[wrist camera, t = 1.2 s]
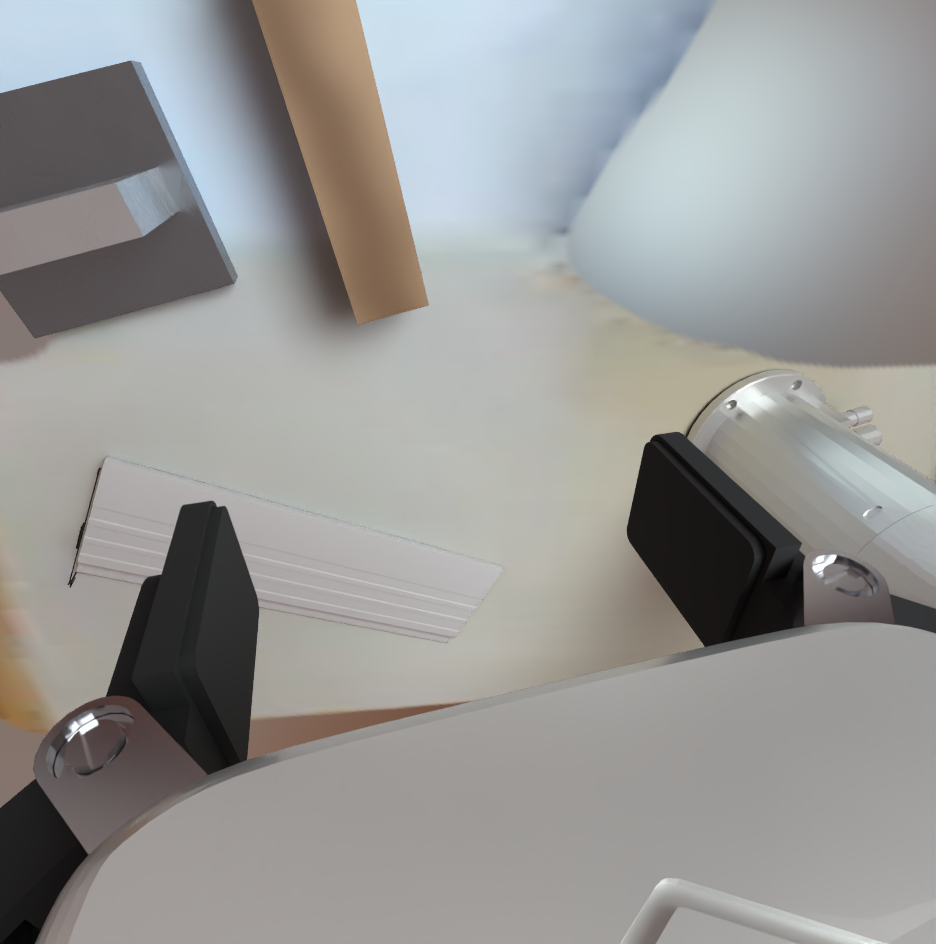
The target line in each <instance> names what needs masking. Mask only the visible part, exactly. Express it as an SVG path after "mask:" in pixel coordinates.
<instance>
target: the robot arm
mask: <svg viewBox="0 0 936 944" xmlns="http://www.w3.org/2000/svg"><path fill="white" fill-rule="evenodd" d="M872 418H873V413H872V411H871V409H870V408H869V407H867V406H862V407H859V408H855V409H852V410H849V411H847V412H845V413H840V412H838V411H836V410H835V409H833V408H831V407H830V406H828V405H827V401H826V397H825V395H824V393H823V391H822V389H821V388H820V387H819V386H818V385H817V384H816V383H815V382H814V381H813V380H811V379H809V378H808V377H806V376H804V375H803V374H800V373H797V372H794V371H790V370H772V371H765V372H762V373H759V374H755V375H752V376H750V377H748V378H746V379H744V380H741V381H739V382H737V383H736V384H734V385H733V386H731V387H730V388H728V389H727V390H725V391H724V392H723V393H721V394H720V395H719V396H718V397H717V398H716V399H714V400H713V401H712V402H711V403H710V404H709V405H708V407H707V408H706V409H705V410H704V411H703V412H702V413H701V415H700V416H699V417H698V419H697V420H696V422H695V423H694V425H693V426H692V428H691V430H690V433H689V435H688V437H687V438H686V437H685V436H684V435H683V434H681V433H680V432H672V433H666V434H659V435H655V436H653V437H652V438H651V440H650V442H648V443H646V445H645V447H644V451H643V456H642V460H641V465H640V470H639V474H638V479H637V484H636V488H635V493H634V498H633V502H632V507H631V512H630V516H629V521H628V526H627V536H628V539H629V541H630V543H631V545H632V546H633V547H634V549H635V550H636V552H637V553H638V554H639V556H640V557H641V559H642V560H643V561H644V563H645V564H646V566H647V567H648V568H649V570H650V571H651V572H652V574H653V575H654V577H655V578H656V579H657V581H658V582H659V584H660V585H661V586H662V588H663V589H664V590H665V592H666V593H667V595H668V596H669V597H670V599H671V600H672V602H673V603H674V604H675V606H676V607H677V608H678V610H679V611H680V613H681V614H682V615H683V617H684V618H685V620H686V621H687V622H688V624H689V625H690V627H691V628H692V629H693V631H694V632H695V633H696V635H697V636H698V638H699V639H700V640H701V642H702V643H703V645H704V646H705V647H703V648H699V649H695V650H690V651H686V652H682V653H677V654H673V655H669V656H664V657H660V658H656V659H651V660H647V661H643V662H638V663H634V664H629V665H625V666H621V667H617V668H612V669H608V670H604V671H600V672H595V673H591V674H587V675H583V676H578V677H574V678H570V679H566V680H561V681H557V682H553V683H549V684H544V685H540V686H536V687H532V688H527V689H523V690H519V691H515V692H511V693H506V694H502V695H498V696H494V697H489V698H485V699H481V700H477V701H473V702H469V703H465V704H460V705H456V706H452V707H448V708H444V709H440V710H436V711H432V712H427V713H423V714H419V715H415V716H411V717H407V718H402V719H398V720H394V721H390V722H386V723H382V724H378V725H373V726H370V727H366V728H362V729H358V730H354V731H350V732H346V733H342V734H339V735H335V736H331V737H327V738H323V739H319V740H315V741H311V742H307V743H304V744H300V745H296V746H292V747H288V748H285V749H282V750H279V751H275V752H272V753H269V754H265V755H262V756H259V757H255V758H252V759H249V760H247V753H248V741H249V729H250V717H251V705H252V692H253V680H254V668H255V656H256V644H257V632H258V619H259V604H258V598H257V594H256V591H255V588H254V585H253V583H252V580H251V577H250V574H249V571H248V568H247V565H246V562H245V559H244V556H243V553H242V550H241V547H240V544H239V542H238V539H237V536H236V533H235V530H234V527H233V524H232V521H231V518H230V515H229V512H228V510H227V508H226V506H220V507H217V505H216V503H215V502H214V501H205V502H199V503H192V504H185V505H183V506H182V507H181V509H180V512H179V515H178V519H177V522H176V526H175V529H174V533H173V536H172V540H171V543H170V546H169V550H168V553H167V557H166V560H165V564H164V567H163V571H162V574H161V575H155V576H149V577H147V578H146V579H145V580H144V582H143V584H142V586H141V590H140V593H139V596H138V599H137V602H136V605H135V608H134V611H133V614H132V617H131V621H130V624H129V627H128V630H127V633H126V636H125V639H124V642H123V645H122V649H121V652H120V655H119V658H118V661H117V664H116V667H115V670H114V673H113V676H112V680H111V683H110V686H109V689H108V692H107V695H106V697H102V698H99V699H96V700H94V701H91V702H88V703H86V704H84V705H82V706H80V707H79V708H77V709H75V710H74V711H72V712H70V713H69V714H67V715H66V716H65V717H64V718H63V719H62V720H60V721H59V722H58V723H57V724H56V725H55V726H54V727H53V728H52V729H51V730H50V732H49V733H48V734H47V735H46V737H45V738H44V739H43V740H42V742H41V744H40V746H39V749H38V751H37V753H36V755H35V760H34V767H33V771H34V774H35V777H36V779H35V780H33V781H32V782H31V783H30V784H29V785H27V786H26V787H25V788H24V789H23V790H22V791H20V792H19V793H18V794H17V795H15V796H14V797H13V798H12V799H11V800H10V801H8V802H7V803H6V804H5V805H3V806H2V807H1V808H0V944H936V482H934V481H933V480H931V479H929V478H928V477H926V476H925V475H923V474H921V473H920V472H918V471H917V470H915V469H913V468H912V467H910V466H909V465H907V464H905V463H904V462H902V461H901V460H899V459H897V458H896V457H894V456H893V455H891V454H889V453H888V452H886V451H885V450H883V449H881V448H880V447H878V445H880V443H881V441H882V435H881V433H880V431H879V429H878V428H877V427H876V426H874V425H871V424H870V425H866V426H863V427H859V428H856V429H853V430H851V429H850V427H851V426H853V427H854V426H857V425H860V424H863V423H867V422H870V421H871V420H872Z"/></svg>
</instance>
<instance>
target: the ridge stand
mask: <svg viewBox="0 0 936 944" xmlns="http://www.w3.org/2000/svg"><path fill="white" fill-rule="evenodd" d="M237 277H238V276H237V274H236V272H235V269H234V267H233V265H232V263H231V261H230V258H229V256H228V254H227V252H226V250H225V247H224V245H223V243H222V241H221V239H220V237H219V234H218V232H217V230H216V228H215V226H214V223H213V221H212V219H211V217H210V215H209V212H208V210H207V208H206V206H205V204H204V201H203V199H202V197H201V195H200V193H199V190H198V188H197V186H196V184H195V182H194V179H193V177H192V175H191V173H190V171H189V168H188V166H187V164H186V162H185V160H184V157H183V155H182V153H181V151H180V149H179V146H178V144H177V142H176V140H175V138H174V135H173V133H172V131H171V129H170V127H169V124H168V122H167V120H166V118H165V116H164V113H163V111H162V109H161V107H160V105H159V102H158V100H157V98H156V96H155V94H154V91H153V89H152V87H151V85H150V83H149V81H148V78H147V76H146V74H145V72H144V70H143V67H142V65H141V63H140V62H135V61H127V62H123V63H119V64H115V65H111V66H107V67H103V68H99V69H95V70H91V71H87V72H83V73H79V74H75V75H71V76H68V77H64V78H60V79H56V80H52V81H48V82H44V83H40V84H36V85H32V86H28V87H24V88H20V89H16V90H12V91H8V92H4V93H0V291H1V292H2V294H3V295H4V296H5V298H6V299H7V301H8V302H9V303H10V305H11V306H12V308H13V309H14V310H15V312H16V313H17V314H18V316H19V317H20V319H21V320H22V321H23V322H24V324H25V325H26V327H27V328H28V330H29V331H30V332H31V334H32V335H33V337H34V338H38V337H42V336H45V335H49V334H53V333H56V332H60V331H64V330H67V329H71V328H74V327H78V326H82V325H85V324H89V323H93V322H96V321H100V320H104V319H107V318H111V317H114V316H118V315H122V314H125V313H129V312H133V311H136V310H140V309H143V308H147V307H151V306H154V305H158V304H162V303H165V302H169V301H172V300H176V299H180V298H183V297H187V296H191V295H194V294H198V293H201V292H205V291H209V290H212V289H216V288H220V287H223V286H227V285H230V284H234V283H235V281H236V279H237Z"/></svg>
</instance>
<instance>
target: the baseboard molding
mask: <svg viewBox="0 0 936 944" xmlns="http://www.w3.org/2000/svg"><path fill="white" fill-rule="evenodd" d="M100 470H101V468H99V470H98V472H97V474H98V475H99V471H100ZM98 475H97V478H98ZM97 478H96V482H97ZM96 482H95V486H96ZM95 486H94V490H95ZM94 490H93V493H94ZM93 493H92V497H93ZM92 497H91V501H92ZM91 501H90V505H91ZM205 501H214V502H215V503H216V505H217V507H220V506H226V508H227V510H228V512H229V515H230V518H231V521H232V524H233V527H234V530H235V533H236V536H237V539H238V542H239V544H240V547H241V550H242V553H243V556H244V559H245V562H246V565H247V568H248V571H249V574H250V577H251V580H252V583H253V585H254V588H255V591H256V594H257V598H258V604H259V607H263V608H268V609H273V610H278V611H283V612H289V613H294V614H299V615H304V616H309V617H315V618H320V619H325V620H330V621H335V622H340V623H346V624H351V625H356V626H361V627H366V628H372V629H377V630H382V631H387V632H392V633H398V634H403V635H408V636H413V637H418V638H424V639H429V640H434V641H439V642H444V643H447V642H448V641H449V639H450V638H451V637H456V636H457V634H458V633H459V631H460V629H461V628H462V626H463V625H464V624H465V623H466V622H467V619H468V618H469V617H470V615H471V614H472V612H474V611H475V609H476V607H477V605H478V604H479V603H480V601H481V600H483V598H484V597H485V595H486V594H487V593H488V591H489V590H490V588H491V587H492V586H493V584H494V583H495V581H496V580H497V579H498V577H499V576H500V574H501V573H502V572H503V569H502V567H501V565H498V564H495V563H491V562H487V561H484V560H480V559H477V558H473V557H469V556H466V555H462V554H459V553H455V552H451V551H448V550H444V549H441V548H437V547H434V546H430V545H426V544H423V543H419V542H416V541H412V540H408V539H405V538H401V537H398V536H394V535H390V534H387V533H383V532H380V531H376V530H372V529H369V528H365V527H362V526H358V525H354V524H351V523H347V522H344V521H340V520H336V519H333V518H329V517H326V516H322V515H318V514H315V513H311V512H308V511H304V510H300V509H297V508H293V507H290V506H286V505H282V504H279V503H275V502H272V501H268V500H264V499H261V498H257V497H254V496H250V495H246V494H243V493H239V492H236V491H232V490H228V489H225V488H221V487H218V486H214V485H210V484H207V483H203V482H200V481H196V480H192V479H189V478H185V477H182V476H178V475H174V474H171V473H167V472H164V471H160V470H156V469H153V468H149V467H146V466H142V465H138V464H135V463H131V462H128V461H124V460H120V459H117V458H113V457H110V456H108V457H107V458H106V459H105V461H104V464H103V467H102V471H101V475H100V479H99V482H98V486H97V490H96V494H95V497H94V501H93V505H92V509H91V513H90V517H89V520H88V523H87V528H86V532H85V536H84V538H83V543H82V547H81V551H80V554H79V557H78V561H77V562H78V567H77V570H76V573H77V572H81V573H86V574H91V575H96V576H102V577H107V578H112V579H117V580H122V581H128V582H133V583H138V584H143V582H144V580H145V579H146V578H147V577H149V576H155V575H161V574H162V571H163V567H164V564H165V560H166V557H167V553H168V550H169V546H170V543H171V540H172V536H173V533H174V529H175V526H176V522H177V519H178V515H179V512H180V509H181V507H182V506H183V505H185V504H192V503H199V502H205ZM90 505H89V508H90ZM88 512H89V509H88ZM88 512H87V516H88ZM87 516H86V520H87ZM86 520H85V523H83V525H82V526H81V530H80V534H79V538H78V542H77V545H76V549H78V550H79V546H80V542H81V539H82V535H83V531H84V527H85V524H86ZM78 550H77V554H78ZM77 554H76V557H77ZM75 561H76V558H75ZM74 565H75V562H74ZM74 565H73V569H74ZM73 569H72V573H73ZM72 573H71V576H72ZM76 573H75V575H76ZM75 575H74V576H73V578H72V580H71V577H70V580H69V583H68V585H69V584H70V587H71V586H72V584H73V582H74V580H75V578H74V577H75ZM73 579H74V580H73ZM72 581H73V582H72Z"/></svg>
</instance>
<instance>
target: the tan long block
mask: <svg viewBox="0 0 936 944" xmlns="http://www.w3.org/2000/svg"><path fill="white" fill-rule="evenodd" d="M252 2H253V5H254V8H255V11H256V14H257V17H258V21H259V24H260V27H261V30H262V33H263V36H264V39H265V42H266V45H267V48H268V51H269V54H270V57H271V60H272V63H273V67H274V70H275V73H276V76H277V79H278V82H279V85H280V88H281V91H282V94H283V97H284V100H285V103H286V106H287V109H288V113H289V116H290V119H291V122H292V125H293V128H294V131H295V134H296V137H297V140H298V143H299V146H300V149H301V152H302V155H303V158H304V162H305V165H306V168H307V171H308V174H309V177H310V180H311V183H312V186H313V189H314V192H315V195H316V198H317V201H318V204H319V208H320V211H321V214H322V217H323V220H324V223H325V226H326V229H327V232H328V235H329V238H330V241H331V244H332V247H333V250H334V254H335V257H336V260H337V263H338V266H339V269H340V272H341V275H342V278H343V281H344V284H345V287H346V290H347V293H348V296H349V299H350V303H351V306H352V309H353V312H354V315H355V318H356V321H357V324H361V323H365V322H368V321H372V320H376V319H380V318H383V317H387V316H391V315H395V314H398V313H402V312H406V311H409V310H413V309H417V308H421V307H424V306H428V305H429V304H428V300H427V295H426V291H425V287H424V283H423V279H422V275H421V270H420V266H419V262H418V258H417V254H416V250H415V245H414V241H413V237H412V233H411V229H410V225H409V220H408V216H407V212H406V208H405V204H404V200H403V195H402V191H401V187H400V183H399V179H398V175H397V170H396V166H395V162H394V158H393V154H392V150H391V145H390V141H389V137H388V133H387V129H386V124H385V120H384V116H383V112H382V108H381V104H380V99H379V95H378V91H377V87H376V83H375V79H374V74H373V70H372V66H371V62H370V58H369V54H368V49H367V45H366V41H365V37H364V33H363V29H362V24H361V20H360V16H359V12H358V8H357V4H356V0H252Z"/></svg>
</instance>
